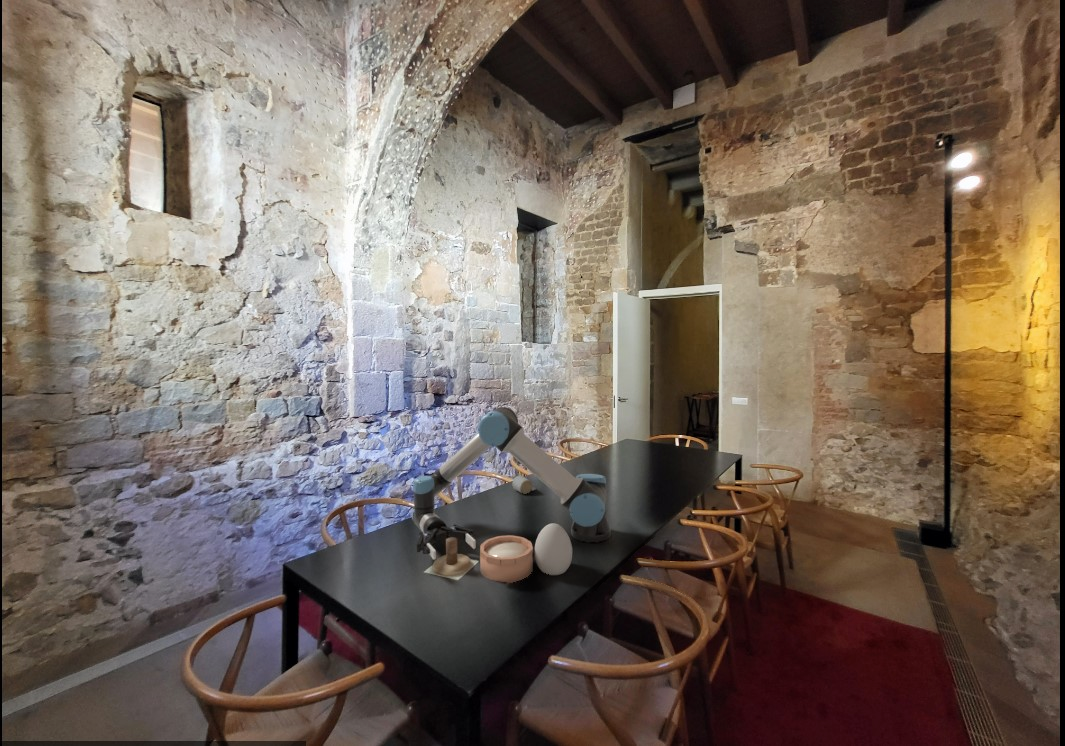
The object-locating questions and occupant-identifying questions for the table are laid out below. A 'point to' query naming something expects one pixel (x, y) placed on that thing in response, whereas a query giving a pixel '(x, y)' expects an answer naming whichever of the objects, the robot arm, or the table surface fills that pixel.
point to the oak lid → (451, 560)
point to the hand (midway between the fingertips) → (455, 549)
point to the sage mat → (456, 577)
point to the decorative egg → (553, 550)
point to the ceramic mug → (522, 485)
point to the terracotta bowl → (506, 558)
